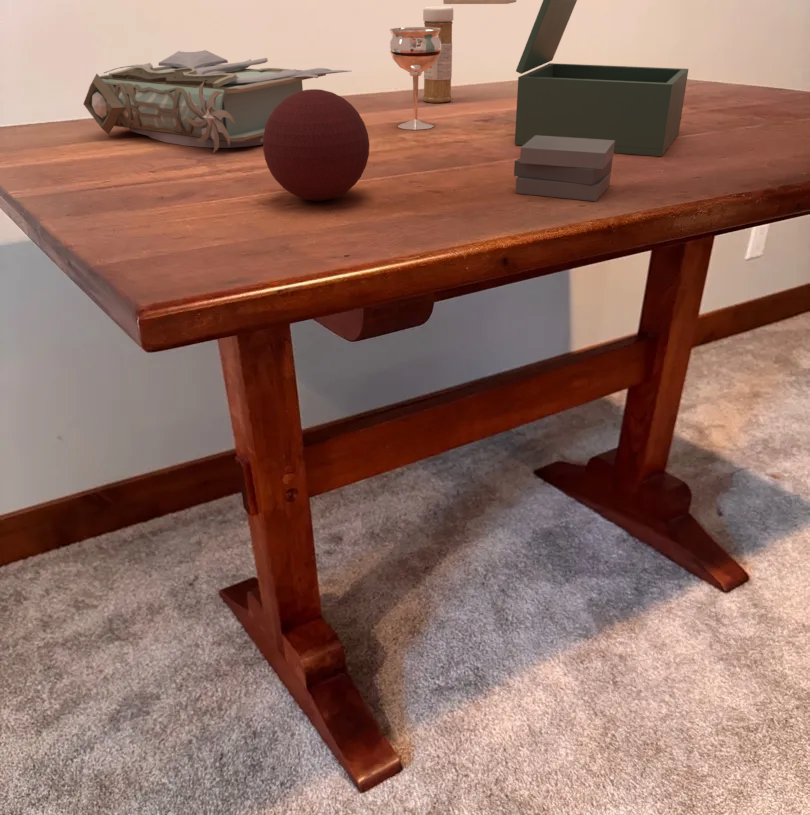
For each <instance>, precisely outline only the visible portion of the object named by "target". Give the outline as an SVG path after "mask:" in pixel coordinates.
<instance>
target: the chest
mask: <svg viewBox="0 0 810 815" xmlns="http://www.w3.org/2000/svg"><path fill="white" fill-rule="evenodd" d="M688 76H689V68H678V67H677V68H676V67H652V66H651V67H650V66H629V65H628V66H626V65H603V64H602V65H600V64H578V63H577V64H575V63H552V62H551V63H550V62H548V63H546V64H544V65H542V66H539V67H537V68H535V69H532V70H530V71H528V72H526V73H523V74H521V75H520V76H518V77H517V94H516V111H515V130H514V146H520V147H522V146H523V145H524V144H526V143H527V142H528V141H529V140H530V139H532V138H533V137H534V136H535V135H539V136H555V137H571V138H587V139H603V140H615V146H614V154H620V155H621V154H623V155H633V156H636V155H637V156H647V157H648V156H649V157H663V155H664V154H665V153H666V152H667V150H668V149H669V148H670V146H671V145H672V144H673V142H674V141H675V140H676V139H677V138H678V135H679V134H680V127H681V122H682V116H683V114H682V113H683V110H684V109H683V107H684V100H685V94H686V88H687V83H688Z"/></svg>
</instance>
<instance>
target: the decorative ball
mask: <svg viewBox="0 0 810 815" xmlns="http://www.w3.org/2000/svg"><path fill="white" fill-rule="evenodd" d="M262 151H263V156H264V161H265V163H266V166H267V168H268V171H269V172H270V174H271V175H272V176H273V179H274V180H275V181H276V182H277V183H278V184H279V185H280V186H281V187H282V188H283V189H284V190H286V191H287V192H289V193H290V194H291V195H293V196H296V197H298V198H300V199H303V200H307V201H315V202H316V201H318V202H319V201H320V202H321V201H327V200H328V201H329V200H332V199H335V198H338V197H340V196H342V195H344V194H345V193H347V192H349V190H351V189H352V188H353V187H354V186H355V185H356V184H357V183H358V181H359V180H360V179H361V177H362V175H363V173H364V171H365V169H366V167H367V164H368V160H369V157H370V140H369V133H368V130H367V127H366V124H365V122H364V120H363V118H362V117H361V114H360V113H359V112H358V110H356V108H355V107H354V106H353V104H352V103H350V102H349V100H346V99H345V97H342V96H340V95H338V94H336V93H335V92H333V91H328V90H324V89H318V88H314V89H313V88H311V89H303V91H300V92H297V93H294V94H292V95H290V96H289V97H287V98H285V99H284V100H283V101H282V102H281V103H280V104H279V105H278V106H277V107H275V109H274V110H273V112H272V113H271V115H270V116H269V119H268V121H267V123H266V126H265V130H264V136H263V144H262Z"/></svg>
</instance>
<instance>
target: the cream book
mask: <svg viewBox="0 0 810 815" xmlns="http://www.w3.org/2000/svg"><path fill="white" fill-rule="evenodd" d="M442 3H443V5H509V4H513V3H517V0H442Z"/></svg>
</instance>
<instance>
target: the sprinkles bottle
mask: <svg viewBox="0 0 810 815" xmlns="http://www.w3.org/2000/svg"><path fill="white" fill-rule="evenodd" d="M422 15H423V16H422V20H423V24H424V27H432V28H440V29H441V30H440V32H439V34H438V37H439V39H440V41H441V52H440V55H439V58H438V59H437V60H436V61H435V63H434V64H433V65H432V66H431V67H430V68H428V69H426V70H425V71H423V88H424V89H423V97H422V100H423V101H424V102H426V103H432V104H438V103H449V102H450V101H452V95H451V94H452V93H451V92H452V76H453V75H452V74H453V73H452V72H453V21H454V7H452V6H449V5H433V6H432V5H430V6H425V7H423V10H422Z"/></svg>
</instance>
